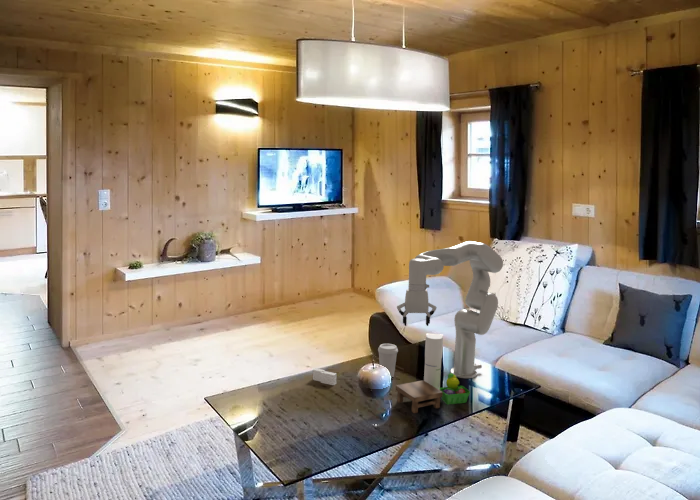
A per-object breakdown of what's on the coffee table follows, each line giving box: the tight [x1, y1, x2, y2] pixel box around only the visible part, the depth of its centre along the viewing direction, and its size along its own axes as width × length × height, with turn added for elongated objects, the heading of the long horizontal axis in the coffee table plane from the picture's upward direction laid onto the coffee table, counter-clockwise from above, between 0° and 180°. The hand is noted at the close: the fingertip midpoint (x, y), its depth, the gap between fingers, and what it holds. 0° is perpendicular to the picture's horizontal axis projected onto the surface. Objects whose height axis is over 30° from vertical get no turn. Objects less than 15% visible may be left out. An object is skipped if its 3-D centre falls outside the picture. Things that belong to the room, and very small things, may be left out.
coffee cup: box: [377, 343, 399, 377], centre depth 269 cm, size 10×10×15 cm
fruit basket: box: [440, 373, 471, 405], centre depth 244 cm, size 11×9×11 cm
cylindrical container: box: [423, 333, 444, 390], centre depth 253 cm, size 7×7×25 cm
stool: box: [395, 379, 443, 414], centre depth 240 cm, size 14×14×7 cm
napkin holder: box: [312, 368, 338, 386], centre depth 262 cm, size 15×11×6 cm
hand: (416, 325), depth 251 cm, fingers open, 9 cm apart
